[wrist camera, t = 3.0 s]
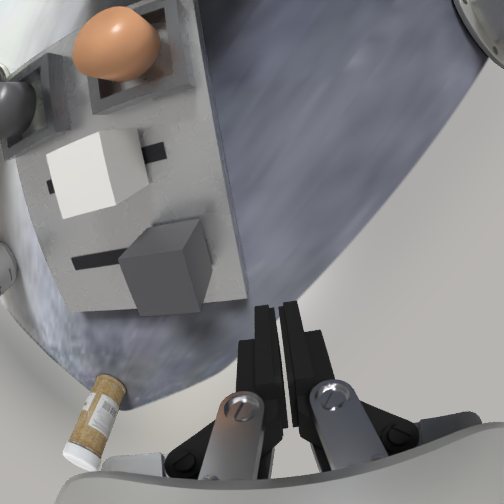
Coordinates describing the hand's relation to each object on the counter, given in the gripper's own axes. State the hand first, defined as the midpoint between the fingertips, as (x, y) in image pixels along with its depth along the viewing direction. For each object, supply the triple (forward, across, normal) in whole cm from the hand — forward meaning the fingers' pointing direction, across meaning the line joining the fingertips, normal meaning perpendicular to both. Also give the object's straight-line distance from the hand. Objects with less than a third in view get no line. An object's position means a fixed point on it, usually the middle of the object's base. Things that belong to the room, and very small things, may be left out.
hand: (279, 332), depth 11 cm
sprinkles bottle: (+13, +23, +18) cm, 32 cm away
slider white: (+9, +9, -8) cm, 15 cm away
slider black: (+9, +6, -1) cm, 11 cm away
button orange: (+7, +6, -15) cm, 17 cm away
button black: (+7, +16, -15) cm, 23 cm away
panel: (+12, +11, -8) cm, 18 cm away
